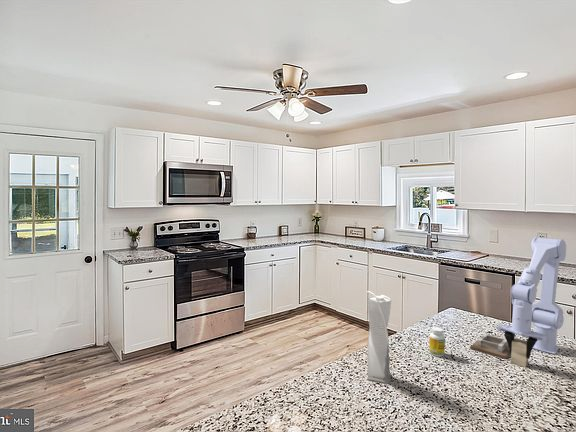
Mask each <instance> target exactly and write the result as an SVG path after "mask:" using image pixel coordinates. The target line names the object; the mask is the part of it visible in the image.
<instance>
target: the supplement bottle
mask: <svg viewBox="0 0 576 432" xmlns="http://www.w3.org/2000/svg"><path fill="white" fill-rule="evenodd" d="M445 345H446V336H445V335H444V329H443V328H442V327H437V326H434V327H432V328H431V333H430V334H429V345H428V346H429V348H428V352H429V354H430V355H432V356H434V357H439V358H440V357H443V356H444V355H445Z"/></svg>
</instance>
